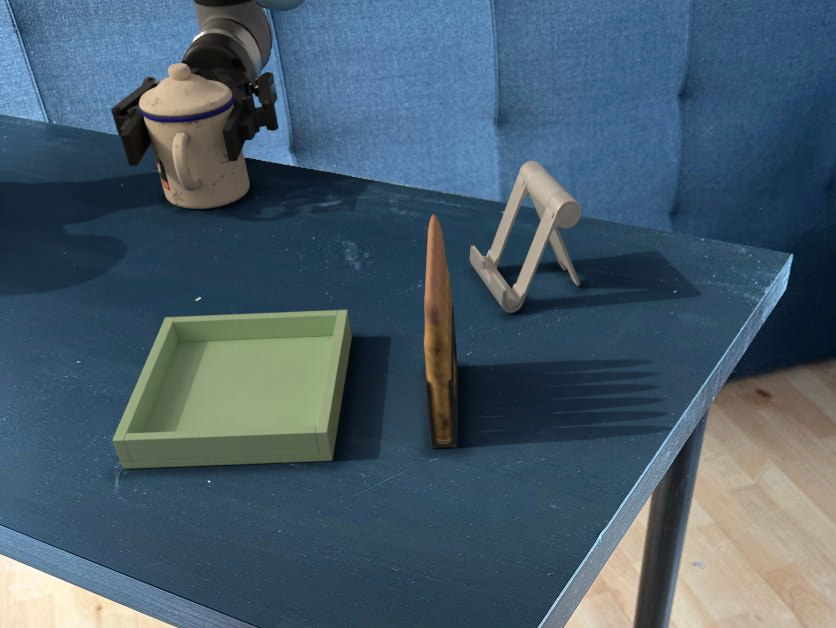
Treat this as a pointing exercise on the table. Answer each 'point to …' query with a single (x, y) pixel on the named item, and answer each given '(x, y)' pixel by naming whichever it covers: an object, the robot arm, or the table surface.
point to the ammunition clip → (440, 345)
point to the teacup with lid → (193, 140)
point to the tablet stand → (553, 213)
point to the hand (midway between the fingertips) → (179, 148)
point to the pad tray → (238, 391)
